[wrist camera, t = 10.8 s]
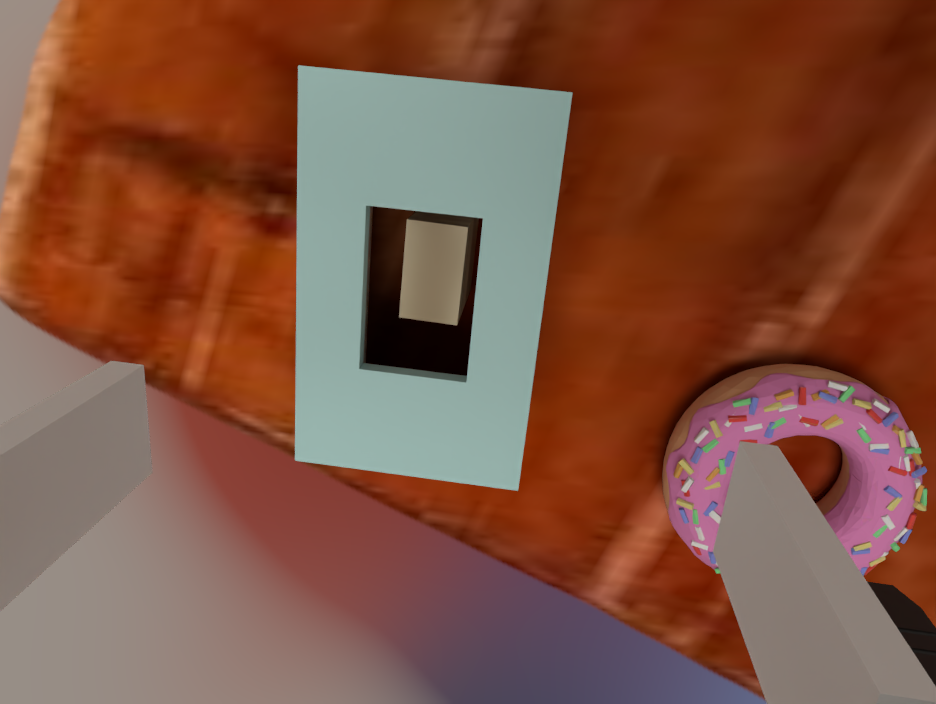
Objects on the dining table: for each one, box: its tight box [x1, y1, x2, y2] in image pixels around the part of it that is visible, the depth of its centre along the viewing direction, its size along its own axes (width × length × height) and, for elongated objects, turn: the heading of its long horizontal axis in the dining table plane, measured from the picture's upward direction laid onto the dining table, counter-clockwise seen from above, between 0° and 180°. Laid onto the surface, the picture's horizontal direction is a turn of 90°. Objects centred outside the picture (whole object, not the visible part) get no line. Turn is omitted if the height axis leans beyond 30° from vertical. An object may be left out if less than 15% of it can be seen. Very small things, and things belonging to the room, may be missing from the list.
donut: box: [662, 364, 927, 576], centre depth 41 cm, size 14×14×5 cm
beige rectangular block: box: [399, 211, 479, 325], centre depth 37 cm, size 3×5×7 cm, turn 174°
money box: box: [295, 65, 573, 491], centre depth 36 cm, size 11×18×11 cm, turn 175°
